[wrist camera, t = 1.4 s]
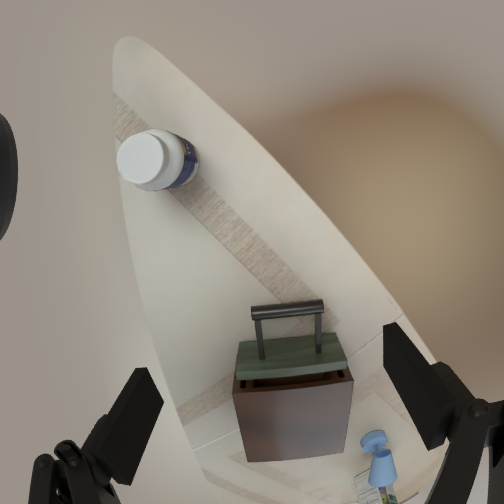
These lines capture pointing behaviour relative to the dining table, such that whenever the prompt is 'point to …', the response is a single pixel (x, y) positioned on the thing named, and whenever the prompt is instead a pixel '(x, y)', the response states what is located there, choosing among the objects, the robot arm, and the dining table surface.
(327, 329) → the dining table surface
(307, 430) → the cabinet
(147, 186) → the pill bottle
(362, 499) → the syrup box
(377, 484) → the spotlight
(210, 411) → the dining table surface
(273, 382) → the drawer
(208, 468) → the dining table surface
